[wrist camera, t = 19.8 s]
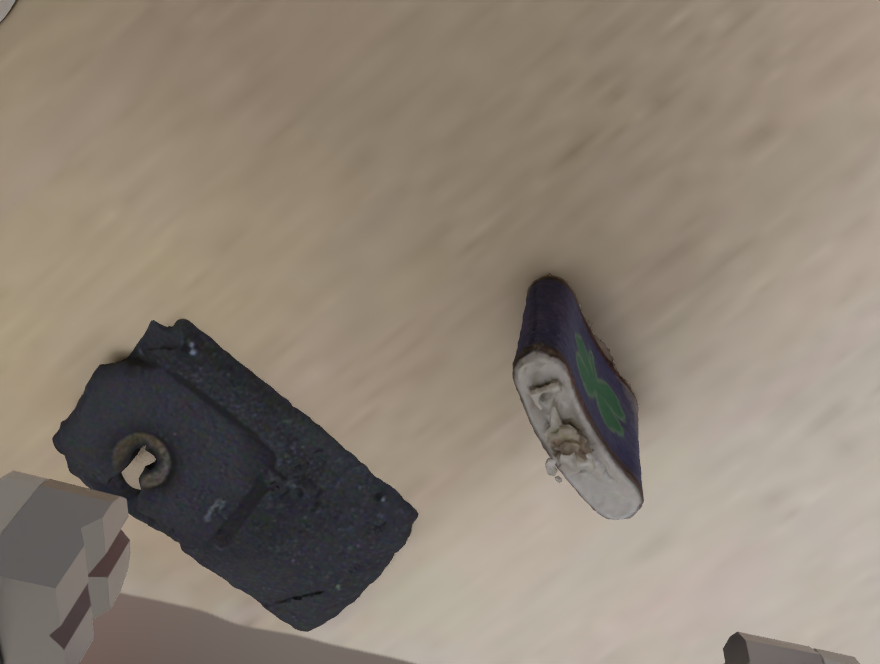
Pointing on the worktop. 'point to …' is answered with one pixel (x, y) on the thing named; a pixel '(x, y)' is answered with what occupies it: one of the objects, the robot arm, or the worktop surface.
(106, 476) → the dark slate chunk
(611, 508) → the flask
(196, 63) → the worktop surface
